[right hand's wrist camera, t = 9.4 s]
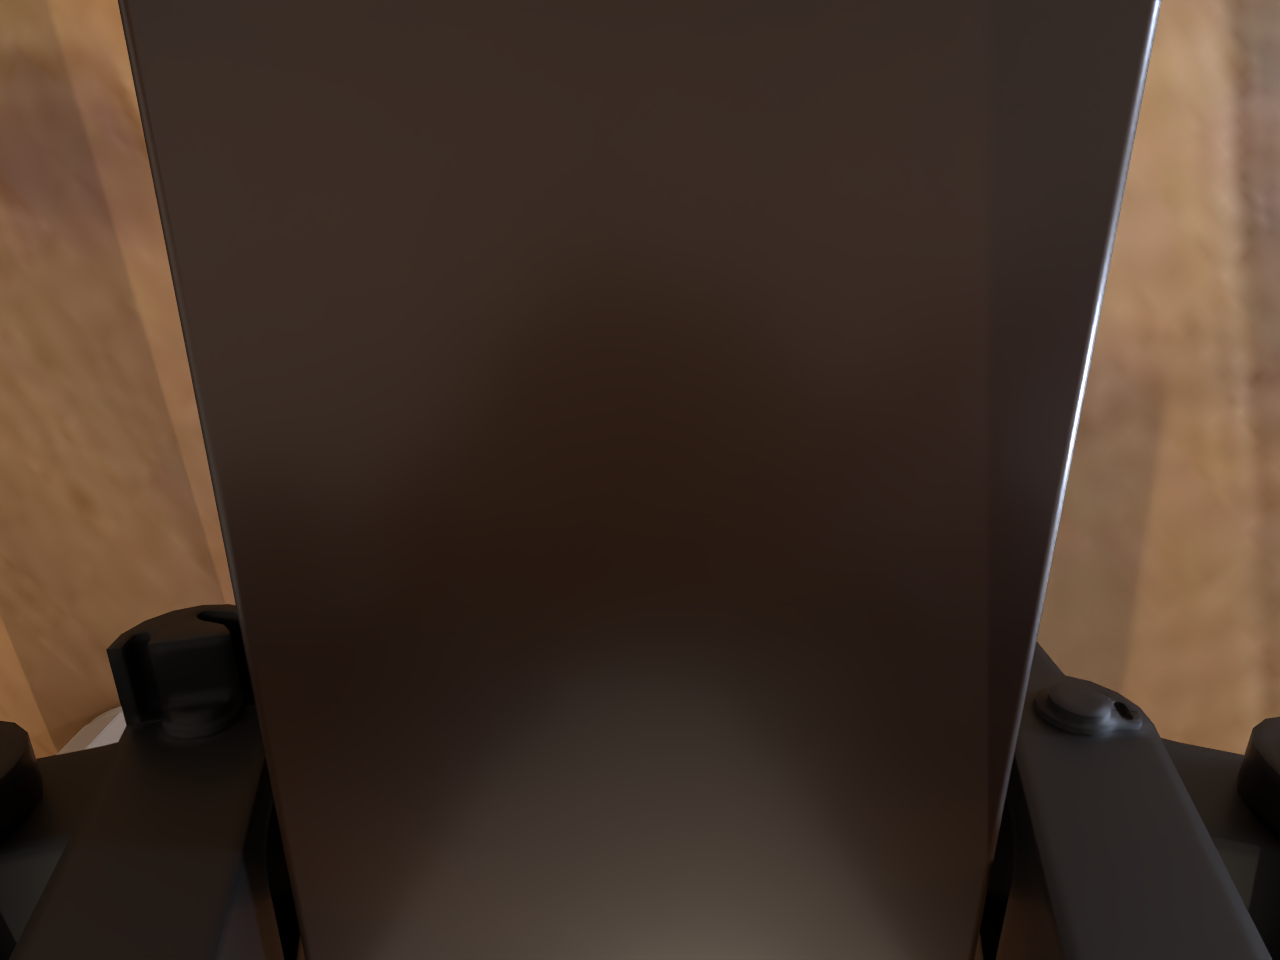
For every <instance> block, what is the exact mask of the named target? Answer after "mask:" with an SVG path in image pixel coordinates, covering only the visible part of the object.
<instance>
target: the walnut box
mask: <svg viewBox="0 0 1280 960" xmlns="http://www.w3.org/2000/svg"><path fill="white" fill-rule="evenodd" d="M118 4H119V9H120V14H121V19H122V24H123V29H124V35H125V40H126V45H127V50H128V55H129V60H130V65H131V70H132V76H133V81H134V86H135V91H136V96H137V101H138V106H139V111H140V117H141V122H142V127H143V132H144V137H145V142H146V147H147V152H148V157H149V163H150V168H151V173H152V178H153V183H154V188H155V193H156V198H157V204H158V209H159V214H160V219H161V224H162V229H163V234H164V239H165V245H166V250H167V255H168V260H169V265H170V270H171V275H172V280H173V285H174V291H175V296H176V301H177V306H178V311H179V316H180V321H181V326H182V332H183V337H184V342H185V347H186V352H187V357H188V362H189V367H190V373H191V378H192V383H193V388H194V393H195V398H196V403H197V408H198V413H199V419H200V424H201V429H202V434H203V439H204V444H205V449H206V454H207V460H208V465H209V470H210V475H211V480H212V485H213V490H214V495H215V501H216V506H217V511H218V516H219V521H220V526H221V531H222V536H223V542H224V547H225V552H226V557H227V562H228V567H229V572H230V577H231V582H232V588H233V593H234V598H235V603H236V608H237V613H238V618H239V623H240V629H241V634H242V639H243V644H244V649H245V654H246V659H247V664H248V670H249V675H250V680H251V685H252V690H253V695H254V700H255V705H256V710H257V716H258V721H259V726H260V731H261V736H262V741H263V746H264V751H265V757H266V762H267V767H268V772H269V777H270V782H271V787H272V792H273V798H274V803H275V808H276V813H277V818H278V823H279V828H280V833H281V838H282V844H283V849H284V854H285V859H286V864H287V869H288V874H289V879H290V885H291V890H292V895H293V900H294V905H295V910H296V915H297V920H298V926H299V931H300V936H301V941H302V946H303V951H304V956H305V960H974V958H975V953H976V948H977V942H978V937H979V932H980V927H981V922H982V917H983V912H984V907H985V901H986V896H987V891H988V886H989V881H990V876H991V871H992V866H993V860H994V855H995V850H996V845H997V840H998V835H999V830H1000V825H1001V819H1002V814H1003V809H1004V804H1005V799H1006V794H1007V789H1008V784H1009V778H1010V773H1011V768H1012V763H1013V758H1014V753H1015V748H1016V743H1017V737H1018V732H1019V727H1020V722H1021V717H1022V712H1023V707H1024V702H1025V696H1026V691H1027V686H1028V681H1029V676H1030V671H1031V666H1032V661H1033V655H1034V650H1035V645H1036V640H1037V635H1038V630H1039V625H1040V620H1041V614H1042V609H1043V604H1044V599H1045V594H1046V589H1047V584H1048V579H1049V573H1050V568H1051V563H1052V558H1053V553H1054V548H1055V543H1056V538H1057V532H1058V527H1059V522H1060V517H1061V512H1062V507H1063V502H1064V497H1065V491H1066V486H1067V481H1068V476H1069V471H1070V466H1071V461H1072V456H1073V450H1074V445H1075V440H1076V435H1077V430H1078V425H1079V420H1080V415H1081V409H1082V404H1083V399H1084V394H1085V389H1086V384H1087V379H1088V374H1089V368H1090V363H1091V358H1092V353H1093V348H1094V343H1095V338H1096V333H1097V327H1098V322H1099V317H1100V312H1101V307H1102V302H1103V297H1104V292H1105V286H1106V281H1107V276H1108V271H1109V266H1110V261H1111V256H1112V251H1113V245H1114V240H1115V235H1116V230H1117V225H1118V220H1119V215H1120V210H1121V204H1122V199H1123V194H1124V189H1125V184H1126V179H1127V174H1128V169H1129V163H1130V158H1131V153H1132V148H1133V143H1134V138H1135V133H1136V128H1137V122H1138V117H1139V112H1140V107H1141V102H1142V97H1143V92H1144V87H1145V81H1146V76H1147V71H1148V66H1149V61H1150V56H1151V51H1152V46H1153V40H1154V35H1155V30H1156V25H1157V20H1158V15H1159V10H1160V5H1161V0H118Z"/></svg>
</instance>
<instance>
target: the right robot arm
mask: <svg viewBox="0 0 1280 960" xmlns="http://www.w3.org/2000/svg"><path fill="white" fill-rule="evenodd" d="M106 650H107V654H108V658H109V662H110V665H111V669H112V673H113V677H114V680H115V684H116V688H117V692H118V696H119V699H120V703H121V707H122V711H123V714H124V718H125V722H126V727H125V729H124V731H123V733H122V735H121V737H120V739H119V741H118V742H116V743H112V744H108V745H104V746H100V747H95V748H90V749H85V750H80V751H74V752H69V753H64V754H59V755H54V756H49V757H44V758H39V759H36V757H35V754H34V751H33V748H32V745H31V742H30V739H29V735H28V732H26V731H25V730H24V729H22V728H21V727H20V726H18V725H17V724H16V723H12V722H5V721H0V960H305V956H304V951H303V946H302V941H301V936H300V931H299V926H298V920H297V915H296V910H295V905H294V900H293V895H292V890H291V885H290V879H289V874H288V869H287V864H286V859H285V854H284V849H283V844H282V838H281V833H280V828H279V823H278V818H277V813H276V808H275V803H274V798H273V792H272V787H271V782H270V777H269V772H268V767H267V762H266V757H265V751H264V746H263V741H262V736H261V731H260V726H259V721H258V716H257V710H256V705H255V700H254V695H253V690H252V685H251V680H250V675H249V670H248V664H247V659H246V654H245V649H244V644H243V639H242V634H241V629H240V623H239V618H238V613H237V608H236V606H235V605H230V604H225V605H201V606H196V607H191V608H185V609H180V610H175V611H172V612H169V613H166V614H163V615H160V616H157V617H155V618H152V619H149V620H146V621H144V622H142V623H140V624H139V625H137V626H135V627H133V628H132V629H130V630H128V631H126V632H125V633H123V634H121V635H120V636H119V637H118V638H117V639H116V640H115V641H114V642H113V643H112V644H111V645H110V646H109V647H108V648H107V649H106ZM974 960H1280V717H1276V718H1268V719H1265V720H1263V721H1262V722H1261V723H1259V724H1258V725H1257V726H1255V727H1254V728H1253V730H1252V733H1251V736H1250V739H1249V742H1248V746H1247V749H1246V752H1245V755H1240V754H1235V753H1230V752H1225V751H1220V750H1215V749H1210V748H1204V747H1199V746H1194V745H1189V744H1184V743H1179V742H1175V741H1171V740H1167V739H1163V738H1160V736H1159V734H1158V732H1157V730H1156V728H1155V726H1154V724H1153V723H1152V722H1151V721H1150V719H1149V718H1148V717H1147V716H1146V714H1145V713H1144V712H1143V711H1142V710H1141V708H1140V707H1138V706H1137V705H1135V704H1134V703H1132V702H1131V701H1129V700H1128V699H1126V698H1125V697H1123V696H1122V695H1120V694H1119V693H1117V692H1115V691H1112V690H1110V689H1108V688H1105V687H1103V686H1100V685H1098V684H1096V683H1093V682H1091V681H1087V680H1082V679H1078V678H1073V677H1069V676H1065V675H1064V674H1063V673H1062V672H1061V670H1060V669H1059V668H1058V667H1057V666H1056V664H1055V663H1054V662H1053V661H1052V660H1051V658H1050V657H1049V656H1048V655H1047V654H1046V652H1045V651H1044V650H1043V649H1042V647H1041V646H1040V645H1039V644H1038V643H1037V641H1036V645H1035V650H1034V655H1033V661H1032V666H1031V671H1030V676H1029V681H1028V686H1027V691H1026V696H1025V702H1024V707H1023V712H1022V717H1021V722H1020V727H1019V732H1018V737H1017V743H1016V748H1015V753H1014V758H1013V763H1012V768H1011V773H1010V778H1009V784H1008V789H1007V794H1006V799H1005V804H1004V809H1003V814H1002V819H1001V825H1000V830H999V835H998V840H997V845H996V850H995V855H994V860H993V866H992V871H991V876H990V881H989V886H988V891H987V896H986V901H985V907H984V912H983V917H982V922H981V927H980V932H979V937H978V942H977V948H976V953H975V958H974Z"/></svg>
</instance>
